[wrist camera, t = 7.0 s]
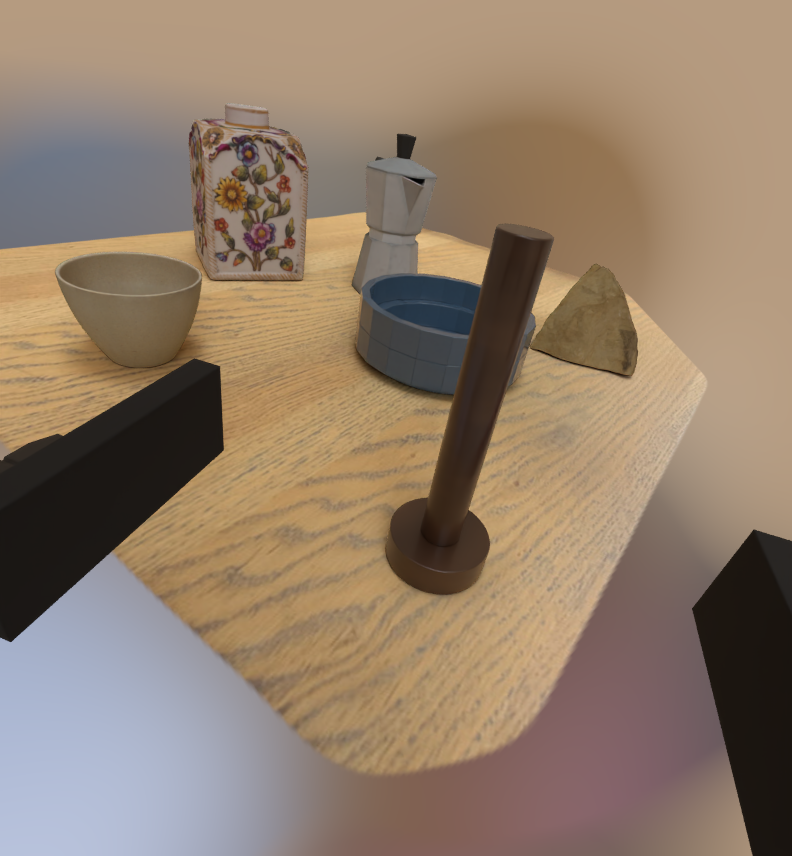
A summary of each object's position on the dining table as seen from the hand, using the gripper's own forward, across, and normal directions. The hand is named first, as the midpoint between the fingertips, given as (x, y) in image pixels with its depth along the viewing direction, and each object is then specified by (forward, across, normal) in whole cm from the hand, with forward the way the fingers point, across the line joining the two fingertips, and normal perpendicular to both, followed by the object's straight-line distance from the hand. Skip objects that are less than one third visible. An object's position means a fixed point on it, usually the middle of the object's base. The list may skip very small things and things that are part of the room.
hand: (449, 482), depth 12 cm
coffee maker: (+53, -18, -14) cm, 58 cm away
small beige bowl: (+21, -29, -14) cm, 38 cm away
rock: (+46, +9, -14) cm, 48 cm away
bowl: (+36, -6, -13) cm, 39 cm away
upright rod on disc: (+10, 0, -13) cm, 17 cm away
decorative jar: (+48, -35, -14) cm, 61 cm away
